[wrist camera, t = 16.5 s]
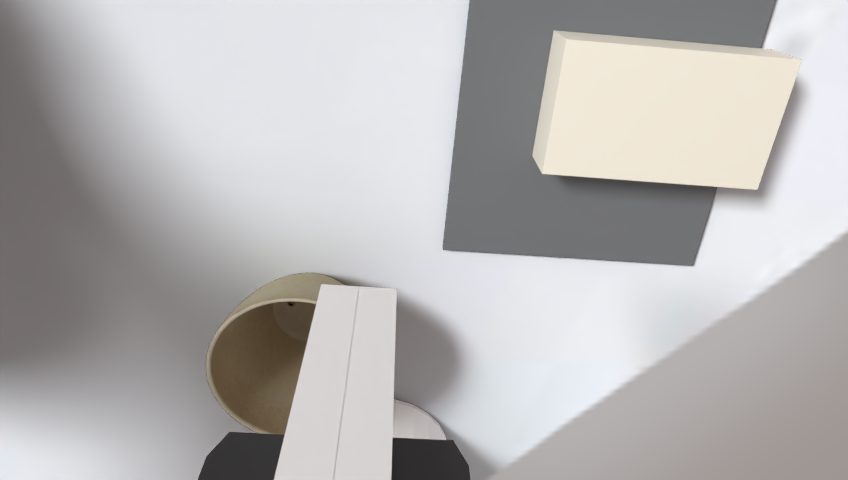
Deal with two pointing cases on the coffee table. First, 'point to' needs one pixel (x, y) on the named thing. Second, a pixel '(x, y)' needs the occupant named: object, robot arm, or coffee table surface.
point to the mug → (414, 423)
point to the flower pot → (264, 351)
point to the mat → (517, 124)
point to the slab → (661, 110)
